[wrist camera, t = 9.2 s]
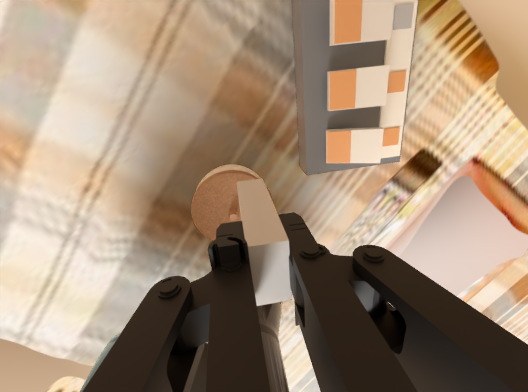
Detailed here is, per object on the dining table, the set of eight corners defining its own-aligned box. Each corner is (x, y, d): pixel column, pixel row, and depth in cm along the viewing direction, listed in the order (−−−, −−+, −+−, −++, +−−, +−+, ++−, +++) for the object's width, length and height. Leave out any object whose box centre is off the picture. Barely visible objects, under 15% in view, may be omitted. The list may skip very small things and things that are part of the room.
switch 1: (385, 40, 31) (391, 38, 30) (329, 45, 30) (334, 44, 29) (388, -7, 29) (395, -10, 28) (329, -2, 28) (334, -5, 27)
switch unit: (384, 154, 43) (404, 163, 38) (299, 166, 42) (309, 178, 37) (400, -16, 33) (429, -31, 29) (291, -6, 32) (302, -19, 28)
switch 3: (379, 160, 35) (380, 163, 34) (327, 160, 37) (326, 163, 36) (382, 127, 33) (383, 129, 32) (326, 129, 35) (325, 131, 34)
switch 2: (382, 104, 33) (386, 105, 32) (327, 109, 34) (329, 111, 32) (386, 64, 31) (390, 64, 30) (327, 71, 32) (328, 71, 31)
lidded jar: (202, 148, 39) (196, 168, 30) (273, 163, 41) (286, 186, 32) (191, 212, 43) (183, 246, 34) (256, 223, 45) (263, 257, 36)
